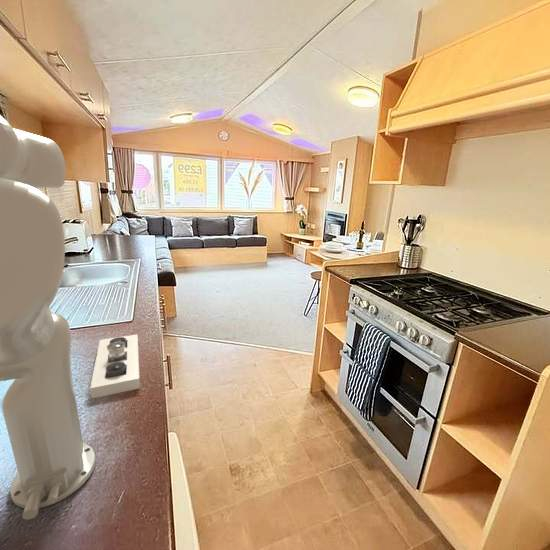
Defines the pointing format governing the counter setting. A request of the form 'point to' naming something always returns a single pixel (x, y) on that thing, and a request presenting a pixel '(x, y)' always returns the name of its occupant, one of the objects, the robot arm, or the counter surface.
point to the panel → (119, 383)
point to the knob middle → (116, 351)
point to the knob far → (119, 340)
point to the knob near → (115, 369)
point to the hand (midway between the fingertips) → (35, 298)
